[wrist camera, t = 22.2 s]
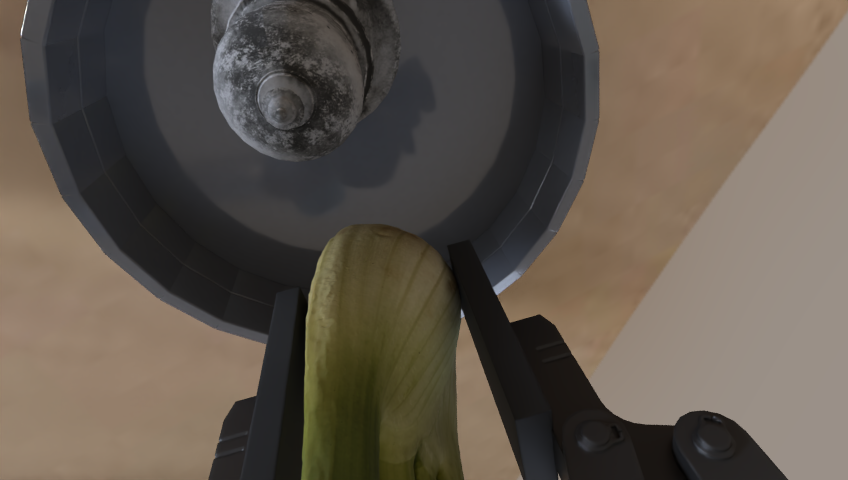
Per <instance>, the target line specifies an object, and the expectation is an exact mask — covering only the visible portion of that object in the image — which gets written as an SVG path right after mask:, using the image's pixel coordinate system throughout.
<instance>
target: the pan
mask: <svg viewBox="0 0 848 480" xmlns="http://www.w3.org/2000/svg"><path fill="white" fill-rule="evenodd" d="M392 2H393V5H394V8H395V11H396V14H397V18H398V21H399V26H400V39H401V53H400V59H399V65H398V71H397V74H396V77H395V79H394V81H393V83H392V86H391V88H390V90H389V92H388V94H387V96H386V97H385V98H384V99H383V101H382V102H381V103H380V104H379V106H378V107H377V108H376V109H375V111H373V112H372V113H371V114H369V115H368V116H367V117H365V118H364V119H362V120H361V121H360V122H358V123H357V124H356V127H355V129H354V130H353V131H352V133H351V134H350V135H349V136H348V138H347V139H346V140H345V142H344V143H343V144H342V145H340V146H339V147H338V148H336V149H335V150H334V151H332V152H331V153H330V154H327V155H325V156H322V157H320V158H317V159H314V160H308V161H299V162H293V161H286V160H279V159H276V158H273V157H271V156H268V155H265V154H263V153H260V152H259V151H257V150H256V149H254V148H253V147H251V146H250V145H248V144H247V143H246V142H244V141H243V140H242V139H241V138H240V137H239V136H238V135H237V133H236V132H235V131H234V130H233V129H232V128H231V127H230V126H229V124H228V122H227V120H226V119H225V117H224V115H223V114H222V112H221V110H220V108H219V105H218V102H217V98H216V95H215V92H214V82H213V63H214V59H215V55H216V52H215V48H214V45H213V41H212V36H211V7H212V3H213V0H27V5H26V10H25V14H24V19H23V24H22V29H21V34H20V35H21V39H20V41H21V50H22V58H23V66H24V75H25V83H26V92H27V100H28V109H29V117H30V121H31V126H32V128H33V130H34V133H35V135H36V137H37V140H38V142H39V145H40V147H41V149H42V152H43V154H44V156H45V159H46V161H47V163H48V166H49V168H50V171H51V173H52V175H53V178H54V180H55V182H56V185H57V187H58V189H59V192H60V194H61V195H62V198H63V199H64V201H65V202H66V203H67V205H68V206H69V207H70V209H71V210H72V211H73V213H74V214H75V215H76V217H77V218H78V219H79V220H80V222H81V223H82V224H83V226H84V227H85V228H86V230H87V231H88V232H89V234H90V235H91V236H92V238H93V239H94V240H95V241H96V243H97V244H98V245H99V247H100V248H101V249H102V251H103V252H104V253H105V254H106V255H107V256H108V257H109V258H110V259H111V260H113V261H114V262H115V263H116V264H117V265H119V266H120V267H121V268H122V269H123V270H125V271H126V272H127V273H128V274H129V275H131V276H132V277H133V278H134V279H135V280H137V281H138V282H139V283H140V284H141V285H143V286H144V287H145V288H146V289H147V290H149V291H150V292H151V293H152V294H153V295H155V296H156V297H157V298H159V299H160V300H161V301H163V302H165V303H167V304H169V305H171V306H173V307H175V308H176V309H178V310H180V311H182V312H184V313H186V314H188V315H190V316H192V317H193V318H195V319H197V320H199V321H201V322H203V323H205V324H207V325H209V326H210V327H212V328H216V329H217V330H220V331H223V332H227V333H230V334H233V335H237V336H240V337H244V338H247V339H250V340H254V341H257V342H260V343H264V344H267V340H268V335H269V330H270V325H271V320H272V315H273V310H274V305H275V300H276V295H277V293H278V292H282V291H285V290H289V289H292V288H296V287H300V288H301V290H302V292H303V294H304V296H305V298H306V300H307V302H308V301H309V296H308V295H309V293H310V289H311V283H312V280H313V278H314V275H315V272H316V268H317V263H318V259H319V257H320V256H321V254H322V251H323V250H324V248H325V246H326V245H327V243H328V242H329V240H330V239H331V238H333V237H334V236H335V235H336V234H337V233H338V232H339V231H340V230H341V229H343V228H345V227H348V226H350V225H355V224H384V225H390V226H393V227H398V228H400V229H402V230H404V231H406V232H409V233H412V234H414V235H417V236H418V237H420V238H422V239H423V240H424V241H426V242H427V243H428V244H429V245H431V246H432V247H433V248H434V249H435V250H437V251H438V253H439V254H440V255H441V256H442V257H443V259H444V260H445V261H446V263H447V264H448V265H449V266H450V268H451V269H452V265H451V261H450V257H449V252H448V248H447V245H450V244H454V243H457V242H461V241H465V240H468V239H470V241H471V243H472V245H473V248H474V250H475V252H476V254H477V256H478V258H479V260H480V262H481V264H482V266H483V268H484V270H485V272H486V275H487V277H488V279H489V281H490V283H491V285H492V287H493V289H494V291H495V293H496V295H498V294H500V293H501V292H502V291H503V290H505V289H506V288H507V287H508V286H510V285H511V284H512V283H513V282H515V281H516V280H517V279H518V278H520V277H521V276H522V275H523V274H524V273H525V271H526V270H527V269H528V268H529V267H530V265H531V264H532V263H533V262H534V260H535V259H536V258H537V257H538V256H539V254H540V253H541V252H542V251H543V250H544V248H545V247H546V246H547V245H548V244H549V242H550V241H551V240H552V239H553V237H554V236H555V235H556V234H557V232H558V231H559V229H560V227H561V225H562V223H563V221H564V219H565V217H566V215H567V213H568V211H569V209H570V207H571V205H572V203H573V201H574V199H575V197H576V196H577V194H578V192H579V190H580V188H581V186H582V184H583V180H584V179H585V175H586V171H587V167H588V163H589V159H590V155H591V151H592V147H593V143H594V139H595V135H596V131H597V126H598V122H599V46H598V42H597V38H596V34H595V31H594V27H593V23H592V19H591V15H590V11H589V8H588V4H587V0H392ZM452 271H453V269H452ZM463 317H465V316H464V313H463V311H462V308H461V318H463Z"/></svg>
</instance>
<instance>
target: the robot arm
mask: <svg viewBox="0 0 848 480" xmlns="http://www.w3.org/2000/svg"><path fill="white" fill-rule="evenodd" d="M447 248H448V252H449V257H450V261H451V265H452V269H453V273H454V275H455V278H456V280H457V285H458V289H459V294H460V299H461V308H462V311H463V313H464V316H465V319H466V322H467V325H468V327H469V330H470V333H471V336H472V338H473V341H474V344H475V347H476V350H477V352H478V355H479V358H480V361H481V363H482V366H483V369H484V372H485V375H486V377H487V380H488V383H489V386H490V388H491V391H492V394H493V397H494V400H495V402H496V405H497V408H498V411H499V414H500V416H501V419H502V422H503V425H504V427H505V430H506V433H507V436H508V439H509V441H510V444H511V447H512V450H513V452H514V455H515V458H516V461H517V464H518V466H519V469H520V472H521V475H522V477H523V480H558V474H559V476H560V478H561V480H788V479H787V478H786V477H785V475H784V474H783V473H782V472H781V471H780V470H779V469H778V467H777V466H776V465H775V464H774V463H773V462H772V461H771V460H770V458H769V457H768V456H767V455H766V454H765V452H763V450H762V449H761V448H760V447H759V446H758V445H757V443H756V442H755V441H754V440H753V439H752V438H751V436H750V435H749V434H748V433H747V432H746V431H745V430H744V429H743V428H741V427H740V426H739V425H738V424H737V423H736V422H734V421H733V420H731V419H729V418H726V417H725V416H723V415H721V414H718V413H713V412H708V411H694V412H689V413H687V414H685V415H683V416H681V417H680V418H679V420H678V421H677V423H676V424H675V426H670V425H645V424H637V423H632V422H629V421H626V420H623V419H622V418H620V417H618V416H616V415H614V414H613V413H612V412H610V411H609V410H608V409H607V408H606V407H605V406H604V404H603V403H602V402H601V401H600V399H599V398H598V396H597V394H596V392H595V391H594V389H593V387H592V386H591V384H590V382H589V381H588V379H587V378H586V376H585V374H584V373H583V371H582V369H581V368H580V366H579V364H578V363H577V361H576V359H575V358H574V356H572V354H571V351H570V350H569V348H568V346H567V345H566V343H565V342H564V340H563V338H562V336H561V335H560V333H559V331H558V330H557V328H556V326H555V325H554V324H552V323H551V322H550V321H548V320H547V319H545V318H544V317H543V316H541V315H536V316H533V317H529V318H526V319H522V320H519V321H515V322H511V323H510V322H509V320H508V318H507V316H506V314H505V312H504V310H503V308H502V306H501V304H500V301H499V299H498V297H497V295H496V293H495V291H494V289H493V287H492V285H491V283H490V281H489V279H488V277H487V275H486V272H485V270H484V268H483V266H482V264H481V262H480V260H479V258H478V256H477V254H476V252H475V250H474V248H473V245H472V243H471V241H470V239H468V240H465V241H461V242H457V243H454V244H450V245H447ZM307 313H308V302H307V300H306V298H305V296H304V294H303V292H302V290H301V288H300V287H296V288H292V289H289V290H285V291H282V292H278V293H277V295H276V300H275V305H274V310H273V315H272V320H271V325H270V330H269V335H268V340H267V345H266V350H265V355H264V360H263V365H262V370H261V376H260V381H259V386H258V391H257V396H254V397H251V398H247V399H244V400H240V401H237V402H235V404H234V405H233V407H232V408H231V410H230V412H229V413H228V415H227V416H226V418H225V419H224V422H223V426H222V430H221V433H220V437H219V441H220V442H219V443H218V445H217V449H216V453H215V459H214V460H213V464H212V468H211V472H210V476H209V480H301V476H302V465H303V461H302V448H303V435H304V376H305V350H306V348H305V341H306V316H307Z"/></svg>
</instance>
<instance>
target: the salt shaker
mask: <svg viewBox="0 0 848 480" xmlns="http://www.w3.org/2000/svg"><path fill="white" fill-rule="evenodd" d="M211 36H212V41H213V45H214V48H215V52H216V55H215V59H214V63H213V82H214V92H215V95H216V98H217V102H218V105H219V108H220V110H221V112H222V114H223V115H224V117H225V119H226V120H227V122H228V124H229V126H230V127H231V128H232V129H233V130H234V131H235V132H236V133H237V135H238V136H239V137H240V138H241V139H242V140H243V141H244V142H246V143H247V144H248V145H250V146H251V147H253V148H254V149H256V150H257V151H259V152H260V153H263V154H265V155H268V156H271V157H273V158H276V159H279V160H286V161H293V162H299V161H308V160H314V159H317V158H320V157H322V156H325V155H327V154H330V153H331V152H332V151H334V150H335V149H336V148H338V147H339V146H340V145H342V144H343V143H344V142H345V140H346V139H347V138H348V136H349V135H350V134H351V133H352V131H353V130H354V129H355V127H356V124H357V123H358V122H360V121H361V120H362V119H364V118H365V117H367V116H368V115H369V114H371V113H372V112H373V111H375V109H376V108H377V107H378V106H379V104H380V103H381V102H382V101H383V99H384V98H385V97H386V96H387V94H388V92H389V90H390V88H391V86H392V83H393V81H394V79H395V77H396V74H397V71H398V65H399V59H400V53H401V39H400V26H399V21H398V18H397V14H396V11H395V8H394V5H393V2H392V0H213V3H212V7H211Z"/></svg>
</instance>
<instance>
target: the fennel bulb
mask: <svg viewBox="0 0 848 480" xmlns="http://www.w3.org/2000/svg"><path fill="white" fill-rule="evenodd" d="M308 296H309V301H308V313H307V316H306V341H305V348H306V350H305V376H304V435H303V448H302V461H303V465H302V476H301V480H464V476H463V471H462V464H461V459H460V451H459V445H458V433H457V393H456V347H457V340H458V335H459V329H460V323H461V299H460V294H459V289H458V285H457V280H456V278H455V275H454V273H453V271H452V269H451V268H450V266H449V265H448V264H447V263H446V261H445V260H444V259H443V257H442V256H441V255H440V254H439V253H438V251H437V250H435V249H434V248H433V247H432V246H431V245H429V244H428V243H427V242H426V241H424V240H423V239H422V238H420V237H418V236H417V235H414V234H412V233H409V232H406V231H404V230H402V229H400V228H398V227H393V226H390V225H384V224H355V225H350V226H348V227H345V228H343V229H341V230H340V231H339V232H338V233H337V234H336V235H335V236H334V237H333V238H331V239H330V240H329V242H328V243H327V245H326V246H325V248H324V250H323V251H322V254H321V256H320V257H319V259H318V263H317V268H316V272H315V275H314V278H313V280H312V283H311V289H310V293H309V295H308Z"/></svg>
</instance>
